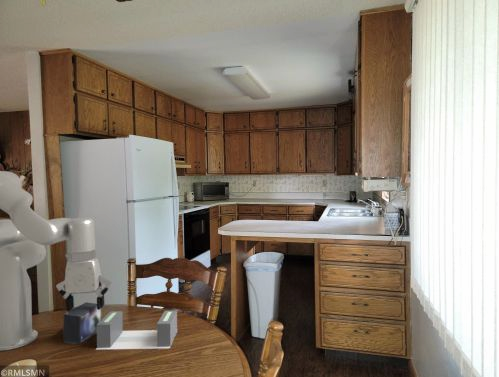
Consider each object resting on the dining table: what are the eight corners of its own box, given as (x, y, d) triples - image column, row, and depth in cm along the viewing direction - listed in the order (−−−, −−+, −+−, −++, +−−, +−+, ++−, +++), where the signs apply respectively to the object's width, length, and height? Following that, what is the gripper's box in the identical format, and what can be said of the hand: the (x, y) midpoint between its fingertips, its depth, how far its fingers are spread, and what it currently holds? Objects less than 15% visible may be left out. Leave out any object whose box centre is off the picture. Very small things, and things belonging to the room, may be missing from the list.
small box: (80, 349, 99) (79, 315, 99) (62, 347, 101) (61, 314, 100) (102, 333, 110) (102, 303, 109) (85, 332, 111) (85, 301, 111)
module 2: (157, 346, 98) (156, 323, 98) (165, 331, 108) (164, 310, 108) (170, 346, 98) (170, 323, 98) (177, 331, 108) (176, 310, 108)
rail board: (95, 354, 96) (95, 349, 96) (111, 335, 108) (111, 331, 108) (169, 353, 97) (169, 348, 97) (177, 334, 109) (177, 329, 109)
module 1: (97, 347, 97) (96, 324, 97) (110, 332, 107) (110, 311, 107) (110, 347, 97) (110, 324, 97) (122, 332, 107) (122, 310, 107)
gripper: (48, 260, 101) (51, 314, 101) (104, 257, 101) (107, 312, 101) (62, 254, 108) (64, 305, 108) (114, 252, 109) (116, 303, 109)
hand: (85, 308), depth 105 cm, fingers open, 9 cm apart
